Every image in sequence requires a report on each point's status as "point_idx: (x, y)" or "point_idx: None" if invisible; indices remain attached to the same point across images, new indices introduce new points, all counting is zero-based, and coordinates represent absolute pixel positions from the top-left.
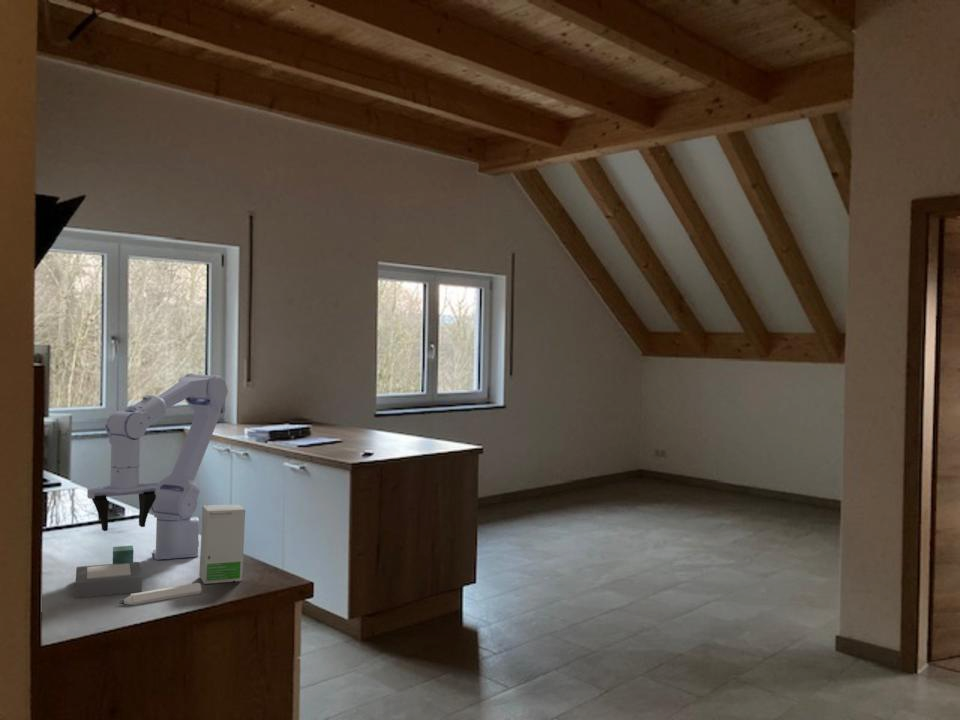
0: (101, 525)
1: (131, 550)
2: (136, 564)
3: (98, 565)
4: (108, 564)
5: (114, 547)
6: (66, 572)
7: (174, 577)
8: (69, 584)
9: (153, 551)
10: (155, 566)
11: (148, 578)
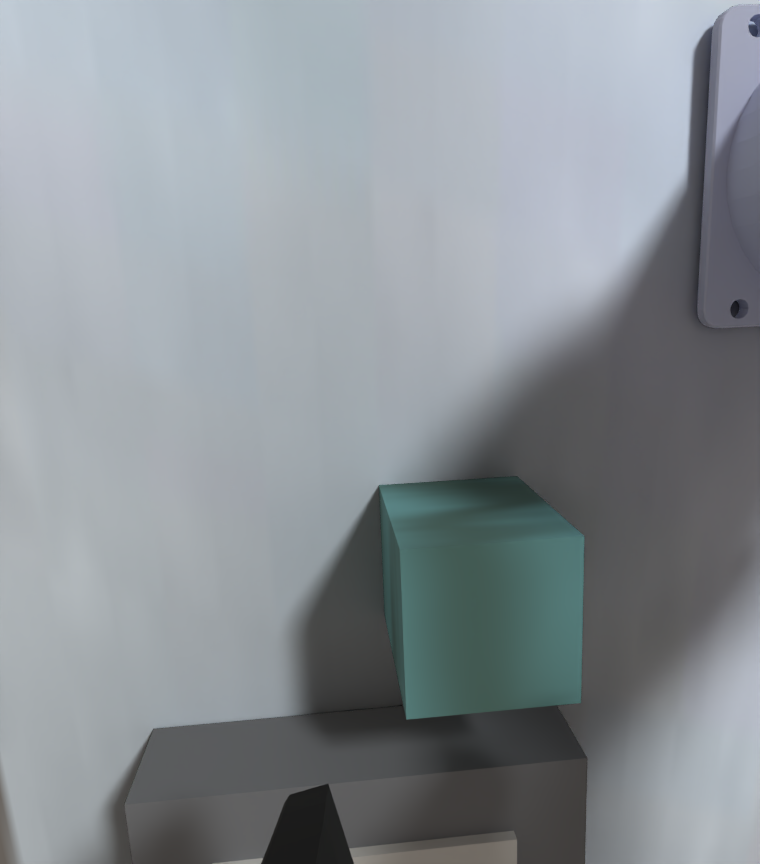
0: (272, 838)
1: (562, 700)
2: (565, 827)
3: None
4: (364, 788)
5: (414, 574)
6: (47, 488)
7: (752, 773)
8: (119, 787)
9: (719, 77)
10: (675, 487)
11: (602, 761)
